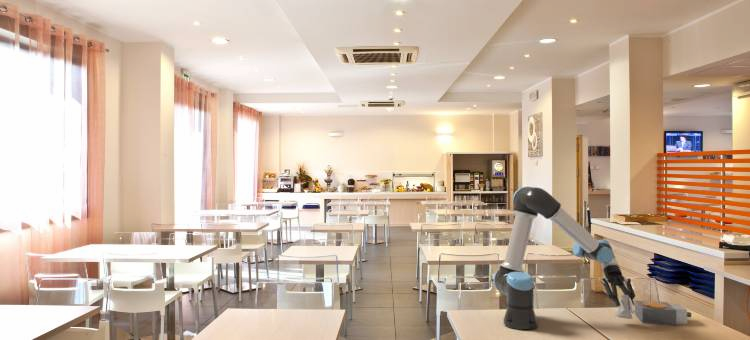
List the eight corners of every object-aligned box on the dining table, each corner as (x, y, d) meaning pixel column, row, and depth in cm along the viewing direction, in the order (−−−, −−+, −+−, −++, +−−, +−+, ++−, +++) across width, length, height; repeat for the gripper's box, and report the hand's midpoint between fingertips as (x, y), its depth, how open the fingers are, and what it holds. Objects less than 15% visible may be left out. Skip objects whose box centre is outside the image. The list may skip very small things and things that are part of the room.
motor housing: (642, 323, 227) (642, 307, 227) (635, 314, 241) (634, 299, 241) (696, 326, 222) (696, 310, 222) (685, 317, 235) (685, 302, 235)
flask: (634, 320, 221) (636, 298, 221) (617, 318, 222) (619, 296, 222) (629, 315, 228) (630, 294, 228) (612, 314, 229) (614, 292, 229)
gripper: (625, 272, 241) (643, 316, 224) (591, 272, 241) (606, 315, 224) (631, 264, 235) (650, 307, 219) (595, 263, 235) (612, 307, 219)
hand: (628, 311), depth 221 cm, fingers closed on flask, 4 cm apart
